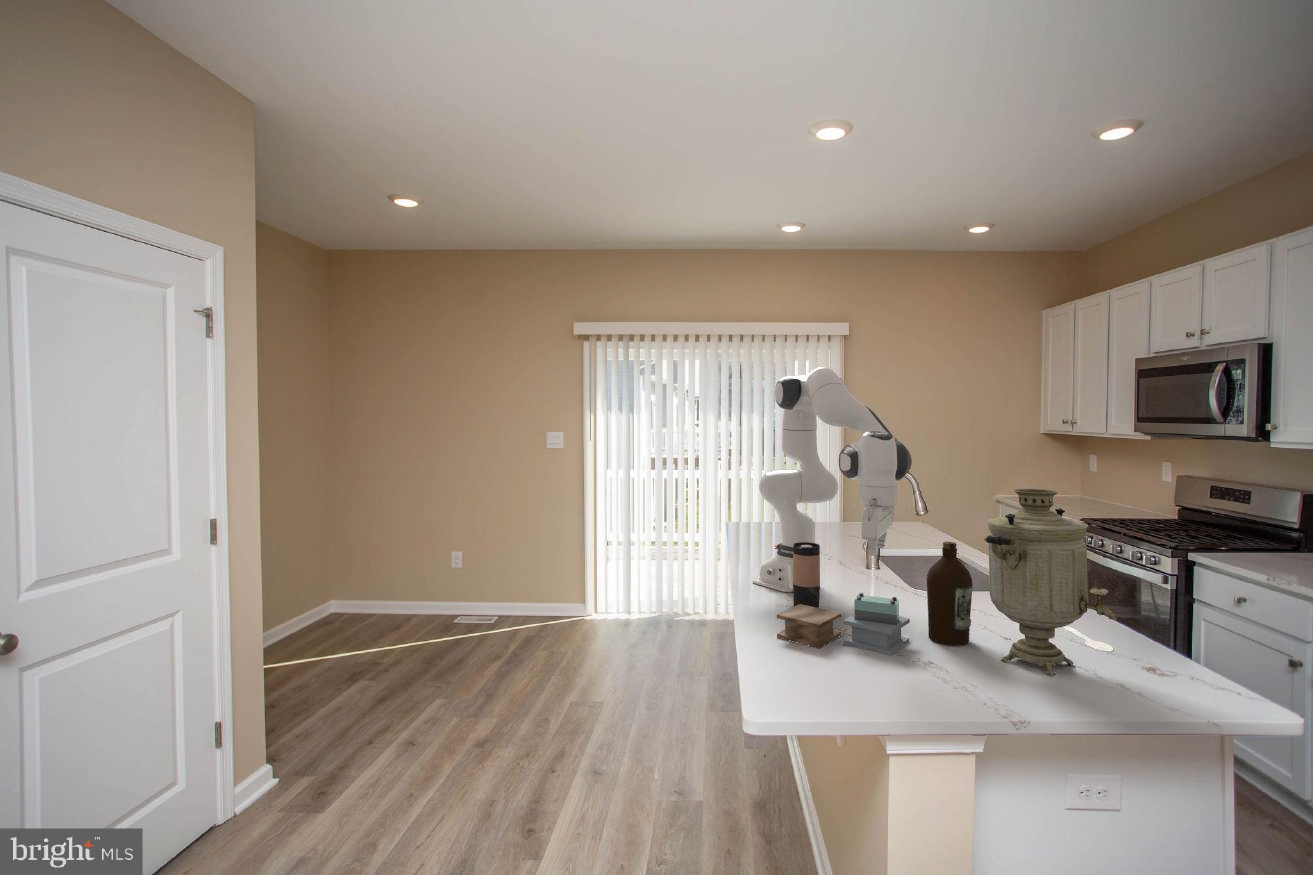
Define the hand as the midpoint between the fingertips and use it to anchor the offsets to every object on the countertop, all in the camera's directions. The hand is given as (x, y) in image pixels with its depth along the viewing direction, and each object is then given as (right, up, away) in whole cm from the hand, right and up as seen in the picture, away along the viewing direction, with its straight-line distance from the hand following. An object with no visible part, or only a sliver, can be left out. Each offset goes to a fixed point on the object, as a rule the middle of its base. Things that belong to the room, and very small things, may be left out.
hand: (877, 551), depth 159 cm
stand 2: (0, -23, +1) cm, 23 cm away
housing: (0, -17, +1) cm, 17 cm away
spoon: (+54, -23, +3) cm, 59 cm away
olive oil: (+19, -23, +3) cm, 30 cm away
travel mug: (-12, -23, +25) cm, 36 cm away
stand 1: (-16, -23, +6) cm, 29 cm away
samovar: (+33, -24, -15) cm, 43 cm away
